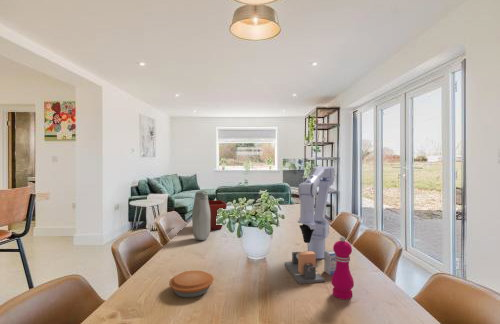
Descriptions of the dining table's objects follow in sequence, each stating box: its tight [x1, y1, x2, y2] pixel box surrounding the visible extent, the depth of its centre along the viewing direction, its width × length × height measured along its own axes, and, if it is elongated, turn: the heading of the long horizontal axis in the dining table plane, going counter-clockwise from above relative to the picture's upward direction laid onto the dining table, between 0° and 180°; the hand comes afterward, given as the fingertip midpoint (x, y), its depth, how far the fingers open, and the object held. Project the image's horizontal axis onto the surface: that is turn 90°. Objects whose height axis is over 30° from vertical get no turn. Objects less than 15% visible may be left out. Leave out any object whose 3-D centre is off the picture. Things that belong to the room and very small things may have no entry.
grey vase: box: [191, 190, 211, 241], centre depth 160 cm, size 10×10×28 cm
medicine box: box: [323, 249, 336, 277], centre depth 114 cm, size 8×4×9 cm, turn 105°
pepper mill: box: [331, 236, 355, 300], centre depth 95 cm, size 7×7×20 cm
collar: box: [297, 250, 317, 274], centre depth 110 cm, size 3×6×8 cm, turn 98°
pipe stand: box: [284, 251, 325, 285], centre depth 114 cm, size 19×10×6 cm, turn 8°
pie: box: [168, 270, 215, 299], centre depth 100 cm, size 16×16×5 cm
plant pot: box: [208, 199, 228, 231], centre depth 187 cm, size 19×19×17 cm
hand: (306, 242), depth 120 cm, fingers closed
